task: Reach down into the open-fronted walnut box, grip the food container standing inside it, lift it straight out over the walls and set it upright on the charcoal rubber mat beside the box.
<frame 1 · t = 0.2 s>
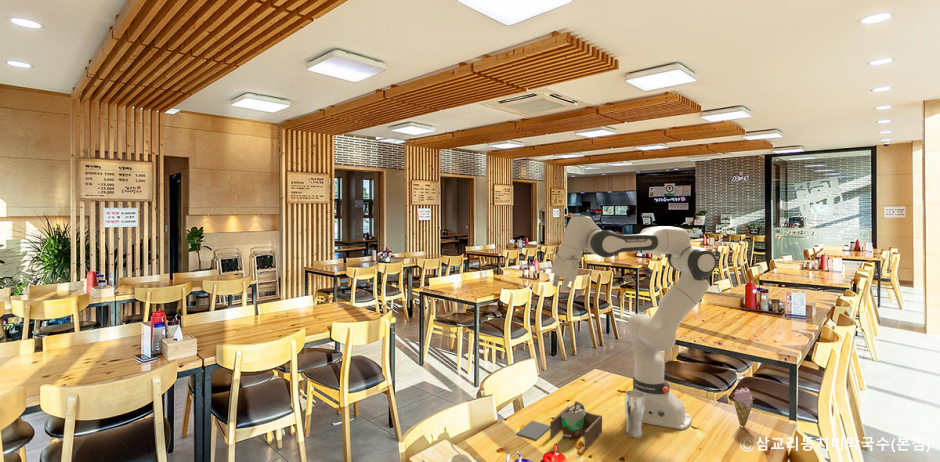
hand: (558, 288, 177), 51 cm above the table, tool tilted 20°, fingers open, 8 cm apart
food container: (576, 435, 166), resting in open box
ice cream cone: (743, 427, 172), on the table
rubber mat: (534, 430, 169), on the table
beer glass: (634, 434, 167), on the table
open box: (576, 435, 166), on the table
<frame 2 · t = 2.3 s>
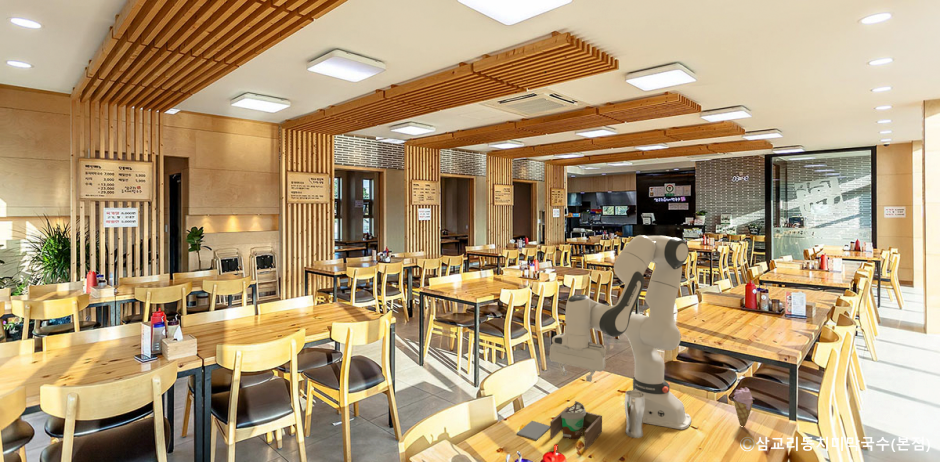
hand: (576, 378, 165), 21 cm above the table, tool pointing down, fingers open, 8 cm apart
nothing on the table moved.
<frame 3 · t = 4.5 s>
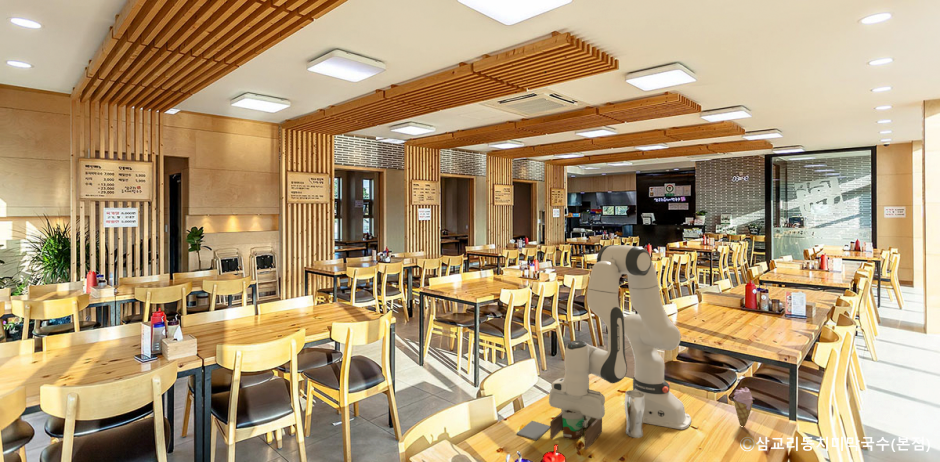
hand: (576, 423, 166), 4 cm above the table, tool pointing down, fingers closed on food container, 6 cm apart
food container: (576, 435, 166), resting in open box, touching gripper
everything else where it was.
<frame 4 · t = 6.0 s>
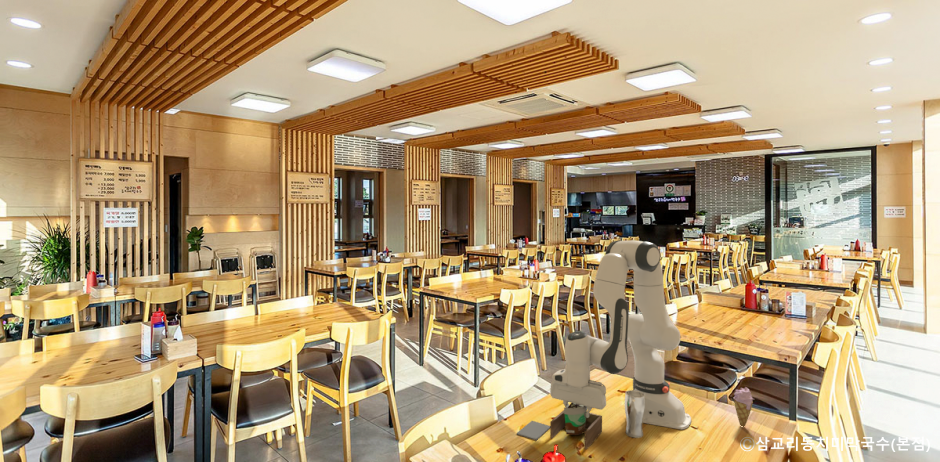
hand: (577, 414, 166), 7 cm above the table, tool pointing down, fingers closed on food container, 5 cm apart
food container: (579, 431, 166), point 2 cm above the table, touching gripper
everything else where it was.
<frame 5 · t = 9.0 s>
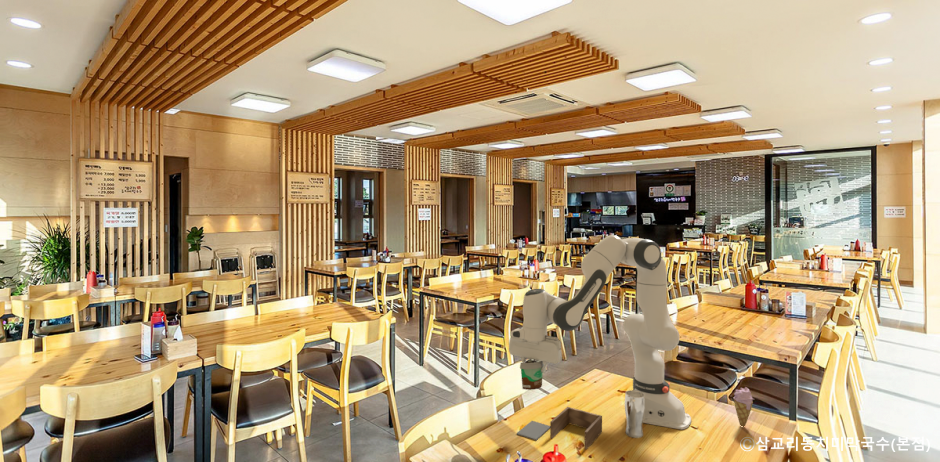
hand: (534, 370, 168), 23 cm above the table, tool pointing down, fingers closed on food container, 5 cm apart
food container: (536, 386, 168), point 17 cm above the table, touching gripper
everything else where it was.
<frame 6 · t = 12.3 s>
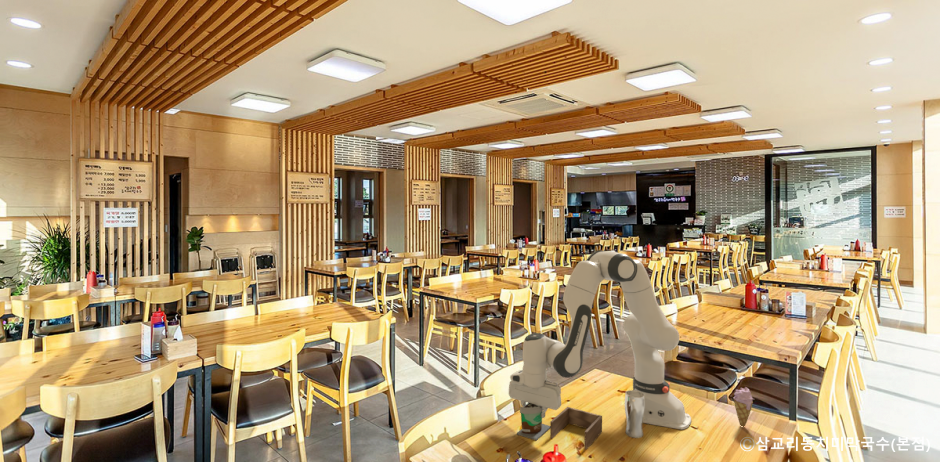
hand: (534, 414, 169), 6 cm above the table, tool pointing down, fingers closed on food container, 5 cm apart
food container: (535, 430, 169), resting on rubber mat, touching gripper
everything else where it was.
when the fingers open (6 cm above the table, at t = 12.9 s): food container stays where it is, resting on rubber mat.
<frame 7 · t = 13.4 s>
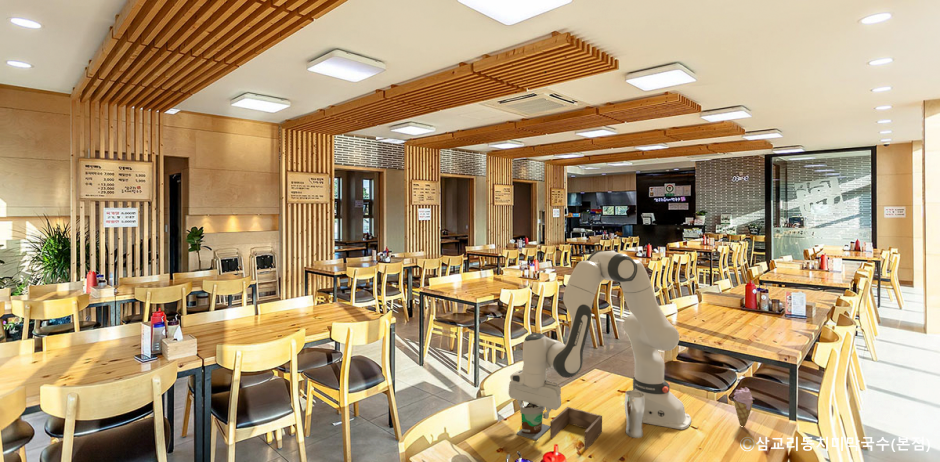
hand: (534, 414, 169), 6 cm above the table, tool pointing down, fingers open, 8 cm apart
food container: (535, 430, 169), resting on rubber mat
everything else where it was.
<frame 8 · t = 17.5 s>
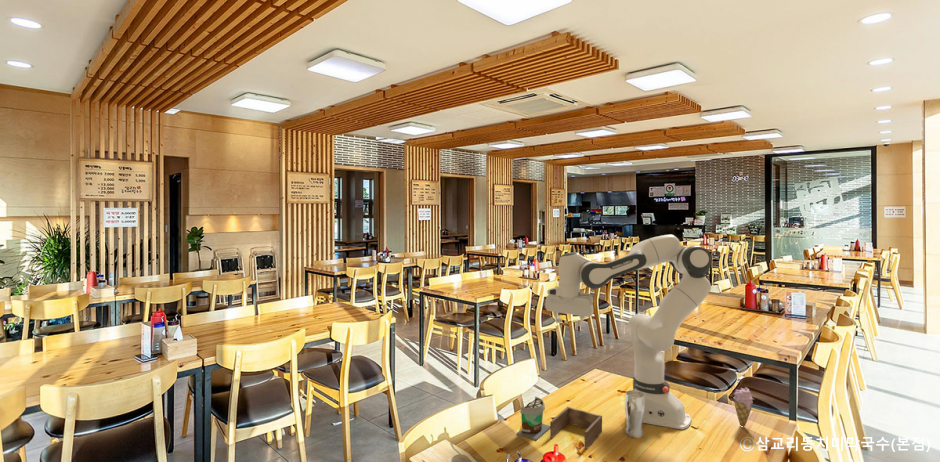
hand: (568, 324, 191), 34 cm above the table, tool pointing down, fingers open, 8 cm apart
nothing on the table moved.
at the end: food container inside the target area on the rubber mat (0.7 cm from its centre), point 0.3 cm above the rubber mat's base; food container tilted 0°; the gripper is holding nothing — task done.
